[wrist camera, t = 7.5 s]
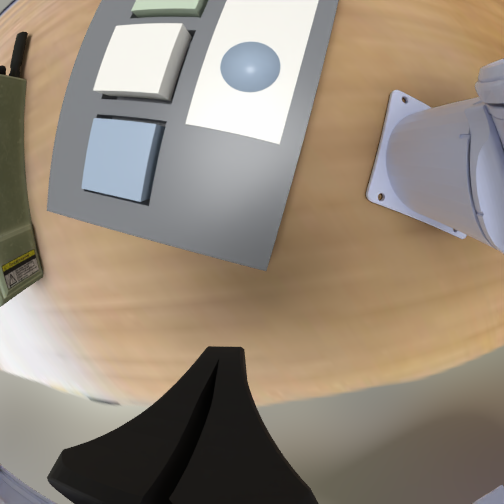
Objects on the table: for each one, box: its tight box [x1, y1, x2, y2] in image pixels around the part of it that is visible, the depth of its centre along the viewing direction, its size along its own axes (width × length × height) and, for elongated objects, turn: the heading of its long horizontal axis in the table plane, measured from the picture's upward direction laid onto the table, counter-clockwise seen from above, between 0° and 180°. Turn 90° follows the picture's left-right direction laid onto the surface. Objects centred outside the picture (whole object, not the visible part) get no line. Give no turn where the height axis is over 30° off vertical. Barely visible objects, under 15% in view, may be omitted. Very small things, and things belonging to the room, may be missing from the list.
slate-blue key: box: [82, 118, 165, 202], centre depth 15 cm, size 4×4×2 cm
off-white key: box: [93, 23, 192, 101], centre depth 12 cm, size 4×4×2 cm
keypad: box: [47, 0, 339, 271], centre depth 13 cm, size 16×27×3 cm, turn 166°
